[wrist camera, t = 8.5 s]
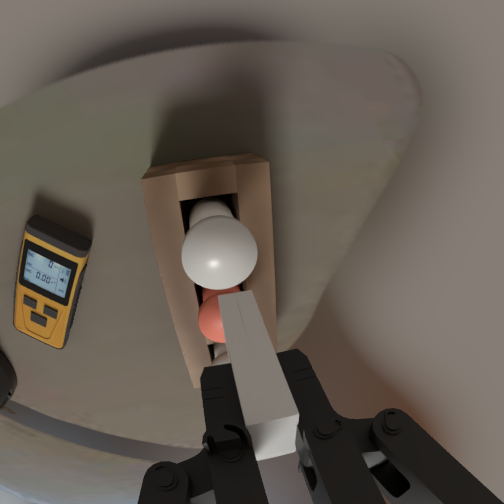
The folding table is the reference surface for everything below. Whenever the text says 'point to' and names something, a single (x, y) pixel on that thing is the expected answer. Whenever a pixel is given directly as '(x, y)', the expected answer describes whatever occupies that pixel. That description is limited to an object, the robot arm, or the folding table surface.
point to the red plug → (213, 313)
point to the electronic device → (49, 281)
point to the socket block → (175, 228)
